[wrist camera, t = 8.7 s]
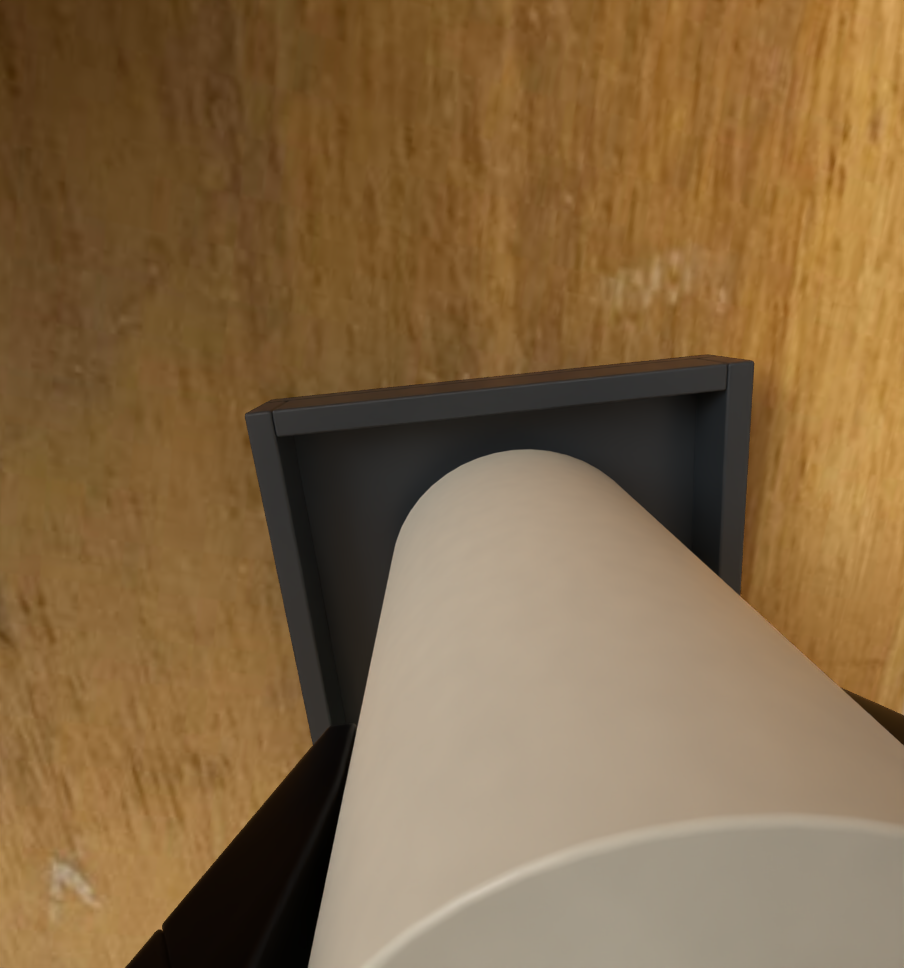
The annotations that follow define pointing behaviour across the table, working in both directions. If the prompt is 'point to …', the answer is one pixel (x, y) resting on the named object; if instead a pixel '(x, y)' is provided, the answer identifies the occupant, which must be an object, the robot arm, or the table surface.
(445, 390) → the tray
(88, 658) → the table surface
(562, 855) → the cream bottle
